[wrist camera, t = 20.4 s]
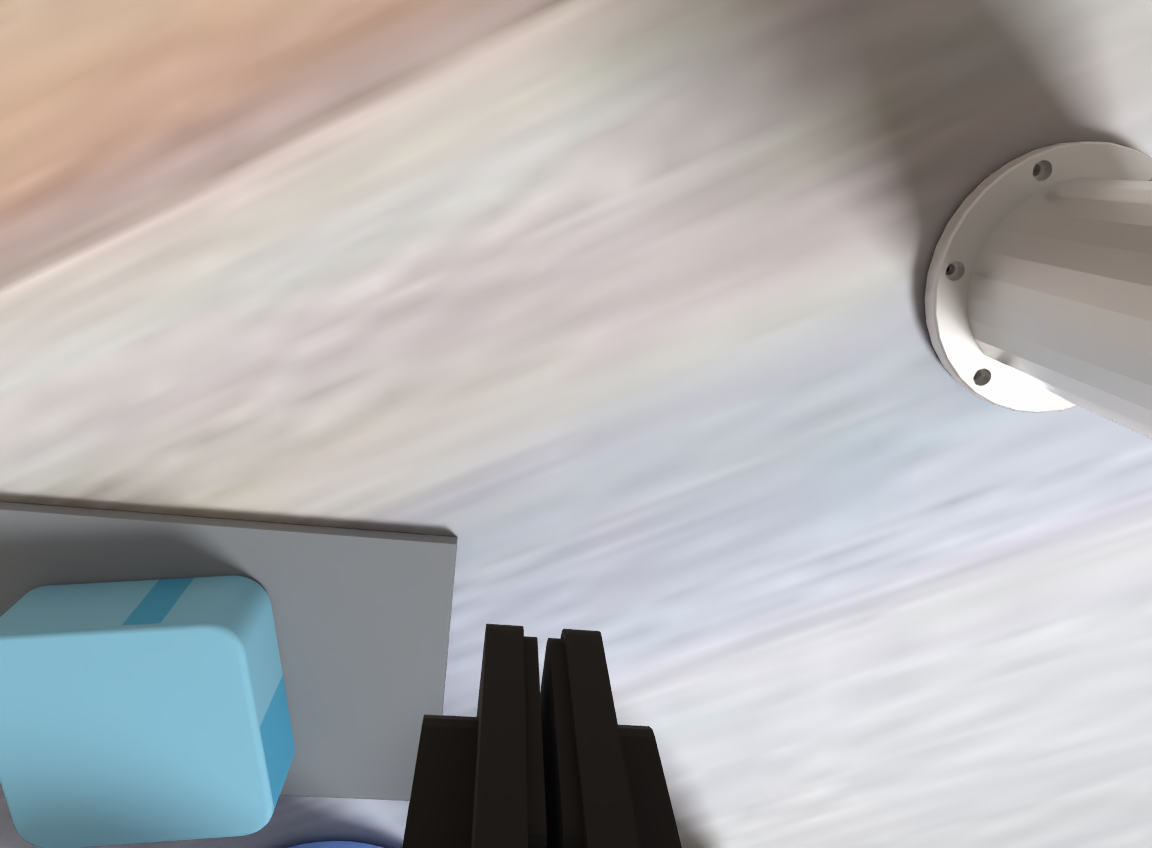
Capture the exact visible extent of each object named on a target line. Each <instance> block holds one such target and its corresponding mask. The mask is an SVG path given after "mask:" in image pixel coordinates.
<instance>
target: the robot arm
mask: <svg viewBox="0 0 1152 848" xmlns="http://www.w3.org/2000/svg"><path fill="white" fill-rule="evenodd" d="M1034 167H1035V171H1034V173H1033V169H1034ZM949 265H950V269H949V271H948V272H947V273H946V269H947V267H948V266H949ZM925 312H926V324H927V328H928V331H929V335H930V339H931V342H932V346H933V347H934V349H935V351H936V353H937V355H938V357H939V359H940V361H941V363H942V365H943V366H944V367H945V368H946V370H947V371H948V372H949V373H950V374H951V375H952V377H953V378H954V379H955V380H956V381H957V382H958V383H959V384H961V385H962V386H963V387H965V388H966V389H967V390H969V391H970V392H971V393H973V394H974V395H976V396H978V397H980V398H982V399H984V400H986V401H988V402H990V403H992V404H994V405H997V406H1001V407H1004V408H1007V409H1010V410H1013V411H1022V412H1032V413H1042V412H1053V411H1061V410H1065V409H1069V408H1072V407H1076V406H1079V407H1081V408H1083V409H1086V410H1088V411H1090V412H1092V413H1095V414H1097V415H1099V416H1101V417H1103V418H1106V419H1108V420H1110V421H1112V422H1115V423H1117V424H1119V425H1121V426H1123V427H1126V428H1128V429H1130V430H1132V431H1135V432H1137V433H1139V434H1141V435H1143V436H1146V437H1148V438H1150V439H1152V158H1150V157H1148V156H1146V155H1144V154H1143V153H1141V152H1139V151H1137V150H1135V149H1133V148H1129V147H1126V146H1122V145H1118V144H1114V143H1110V142H1088V141H1083V142H1069V143H1058V144H1054V145H1051V146H1047V147H1043V148H1040V149H1036V150H1033V151H1031V152H1029V153H1027V154H1024V155H1022V156H1020V157H1018V158H1016V159H1014V160H1012V161H1010V162H1008V163H1007V164H1005V165H1004V166H1002V167H1001V168H1000V169H998V170H997V171H995V172H994V173H993V174H991V175H990V176H988V177H987V178H986V179H984V180H983V181H982V182H981V183H980V184H979V185H978V186H977V187H976V188H975V189H974V190H973V191H972V192H971V193H970V194H969V195H968V196H967V197H966V198H965V200H964V201H963V202H962V204H961V205H960V206H959V208H958V209H957V211H956V212H955V213H954V215H953V216H952V218H951V219H950V220H949V222H948V223H947V225H946V227H945V229H944V231H943V233H942V235H941V237H940V239H939V241H938V243H937V245H936V247H935V251H934V254H933V257H932V261H931V264H930V267H929V270H928V275H927V283H926V291H925ZM975 373H976V374H975ZM402 848H682V847H681V843H680V839H679V835H678V830H677V826H676V822H675V818H674V814H673V810H672V806H671V801H670V797H669V793H668V789H667V785H666V781H665V777H664V773H663V768H662V764H661V760H660V756H659V752H658V748H657V744H656V739H655V736H654V733H653V730H652V729H651V728H650V727H649V726H631V725H618V724H617V719H616V713H615V708H614V702H613V697H612V691H611V686H610V680H609V675H608V669H607V664H606V658H605V653H604V647H603V642H602V636H601V633H600V632H599V631H588V630H573V629H563V630H562V634H561V639H556V638H548V640H547V646H546V653H545V661H544V668H543V676H542V684H541V691H540V683H539V662H538V642H537V637H525V636H524V629H523V626H512V625H497V624H486V631H485V641H484V650H483V660H482V670H481V680H480V690H479V699H478V709H477V717H462V716H443V715H425V714H424V717H423V722H422V728H421V734H420V740H419V747H418V753H417V759H416V765H415V772H414V778H413V784H412V790H411V797H410V803H409V809H408V816H407V822H406V828H405V834H404V841H403V847H402Z"/></svg>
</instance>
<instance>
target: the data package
mask: <svg viewBox="0 0 1152 848" xmlns="http://www.w3.org/2000/svg"><path fill="white" fill-rule="evenodd" d="M294 753H295V745H294V739H293V733H292V727H291V721H290V715H289V709H288V703H287V697H286V691H285V685H284V678H283V672H282V666H281V660H280V654H279V648H278V642H277V636H276V630H275V624H274V618H273V612H272V606H271V601H270V598H269V596H268V594H267V592H266V591H265V589H264V588H263V587H262V586H261V585H259V584H258V583H257V582H255V581H254V580H251V579H249V578H246V577H243V576H234V575H231V576H213V577H195V578H176V579H158V580H139V581H121V582H103V583H84V584H66V585H48V586H41V587H38V588H35V589H33V590H31V591H29V592H28V593H27V594H25V595H24V596H23V597H22V598H21V599H20V600H19V601H18V602H17V603H16V604H14V605H13V606H12V607H11V608H10V609H9V610H8V611H7V612H6V613H5V614H3V615H2V616H1V617H0V783H1V786H2V789H3V792H4V795H5V799H6V802H7V805H8V808H9V811H10V814H11V818H12V821H13V824H14V827H15V829H16V831H17V832H18V834H19V835H20V836H21V837H22V838H23V839H24V840H25V841H27V842H28V843H30V844H32V845H34V846H37V847H40V848H85V847H98V846H112V845H125V844H139V843H152V842H165V841H179V840H192V839H206V838H219V837H233V836H244V835H249V834H252V833H255V832H257V831H259V830H260V829H262V828H263V827H264V826H265V825H266V824H267V823H268V822H269V821H270V819H271V817H272V815H273V812H274V809H275V806H276V804H277V801H278V798H279V795H280V793H281V790H282V787H283V784H284V782H285V779H286V776H287V773H288V771H289V768H290V765H291V762H292V760H293V757H294Z"/></svg>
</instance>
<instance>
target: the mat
mask: <svg viewBox="0 0 1152 848" xmlns="http://www.w3.org/2000/svg"><path fill="white" fill-rule="evenodd" d="M456 549H457V537H450V536H437V535H424V534H411V533H398V532H386V531H373V530H360V529H347V528H334V527H321V526H308V525H295V524H282V523H269V522H256V521H243V520H231V519H218V518H205V517H192V516H179V515H166V514H153V513H140V512H127V511H114V510H101V509H88V508H75V507H63V506H50V505H37V504H24V503H11V502H0V617H1V616H2V615H3V614H5V613H6V612H7V611H8V610H9V609H10V608H11V607H12V606H13V605H14V604H16V603H17V602H18V601H19V600H20V599H21V598H22V597H23V596H24V595H25V594H27V593H28V592H29V591H31V590H33V589H35V588H38V587H41V586H48V585H66V584H84V583H103V582H121V581H139V580H158V579H176V578H195V577H213V576H231V575H234V576H243V577H246V578H249V579H251V580H254V581H255V582H257V583H258V584H259V585H261V586H262V587H263V588H264V589H265V591H266V592H267V594H268V596H269V598H270V601H271V606H272V612H273V618H274V624H275V630H276V636H277V642H278V648H279V654H280V660H281V666H282V672H283V678H284V685H285V691H286V697H287V703H288V709H289V715H290V721H291V727H292V733H293V739H294V745H295V753H294V757H293V760H292V762H291V765H290V768H289V771H288V773H287V776H286V779H285V782H284V784H283V787H282V790H281V793H280V795H283V796H307V797H331V798H355V799H379V800H403V801H410V797H411V790H412V784H413V778H414V772H415V765H416V759H417V753H418V747H419V740H420V734H421V728H422V722H423V717H424V714H425V715H442V712H443V701H444V689H445V677H446V666H447V654H448V642H449V631H450V619H451V607H452V596H453V584H454V572H455V561H456Z"/></svg>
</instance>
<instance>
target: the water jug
mask: <svg viewBox="0 0 1152 848" xmlns="http://www.w3.org/2000/svg"><path fill="white" fill-rule="evenodd" d="M289 848H383V847H380V846H376V845H371V844H366V843H360V842H350V841H322V842H313V843H307V844H301V845H297V846H293V847H289Z"/></svg>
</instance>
